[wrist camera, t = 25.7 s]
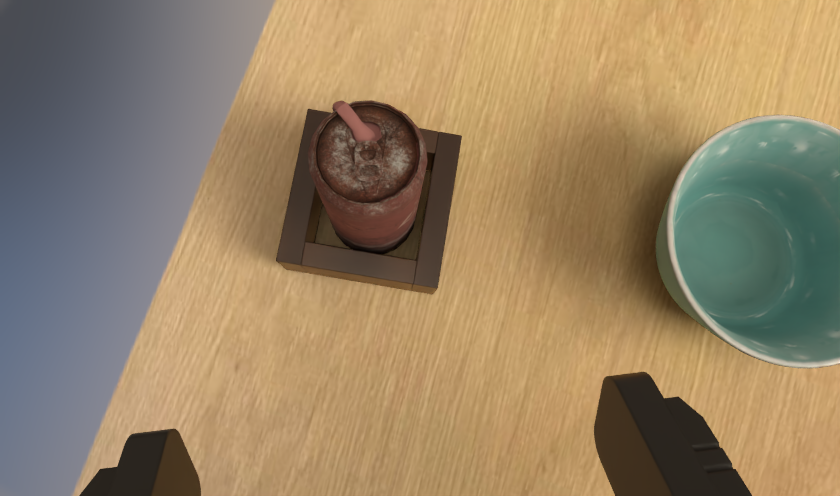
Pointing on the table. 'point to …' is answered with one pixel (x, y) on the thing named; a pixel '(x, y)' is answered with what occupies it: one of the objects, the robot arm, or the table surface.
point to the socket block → (360, 265)
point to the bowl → (760, 239)
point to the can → (369, 173)
